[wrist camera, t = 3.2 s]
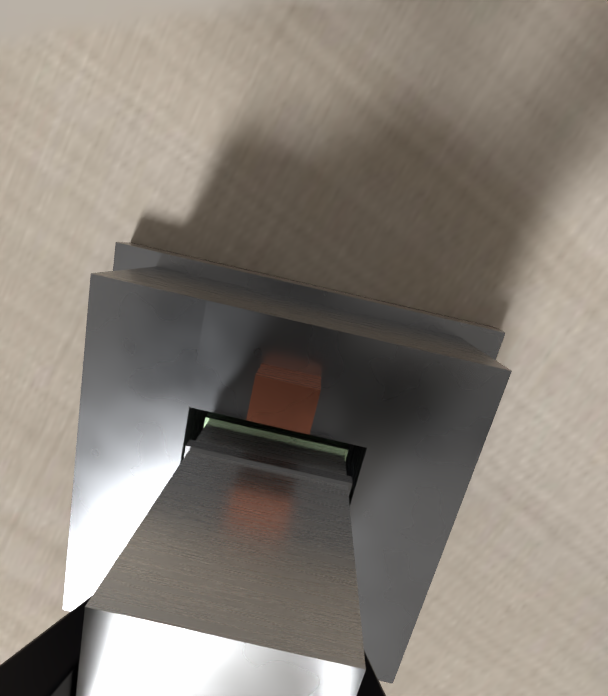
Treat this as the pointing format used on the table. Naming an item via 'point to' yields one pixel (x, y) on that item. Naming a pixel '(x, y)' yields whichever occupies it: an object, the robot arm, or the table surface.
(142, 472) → the housing
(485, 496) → the table surface
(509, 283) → the table surface
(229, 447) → the column
